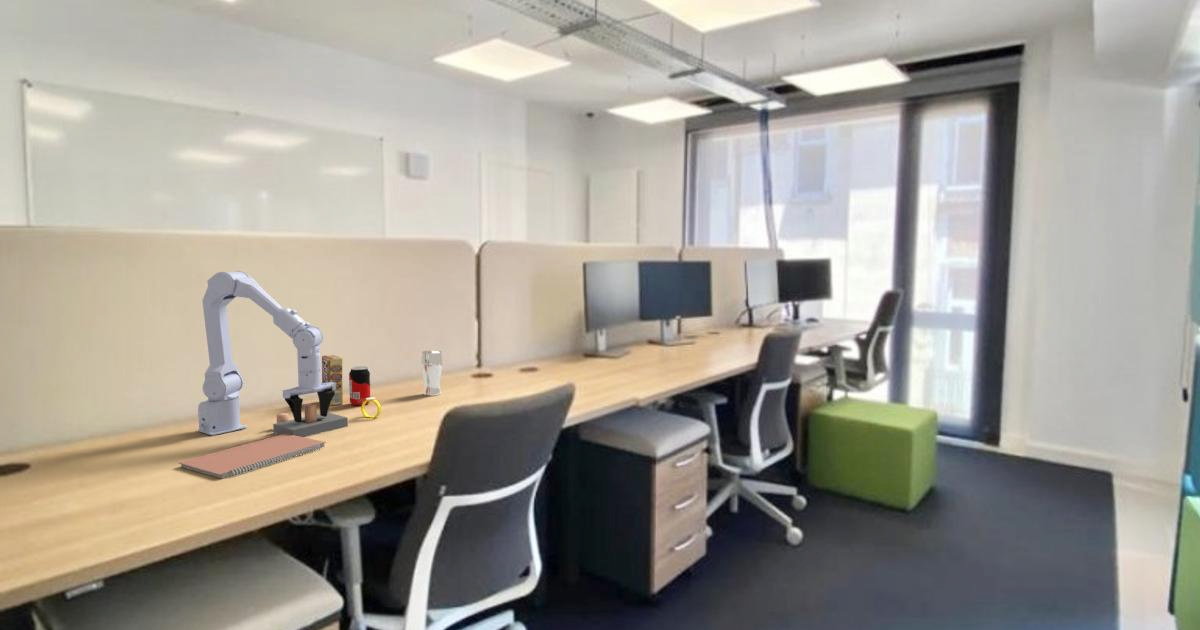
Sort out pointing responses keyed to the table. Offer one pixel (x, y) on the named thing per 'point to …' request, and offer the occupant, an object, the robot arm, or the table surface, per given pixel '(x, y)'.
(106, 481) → the table surface
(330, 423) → the hole board
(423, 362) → the beer glass
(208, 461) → the notebook
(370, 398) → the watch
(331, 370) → the candy box
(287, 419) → the short pin
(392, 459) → the table surface
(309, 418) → the long pin
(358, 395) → the beverage can
